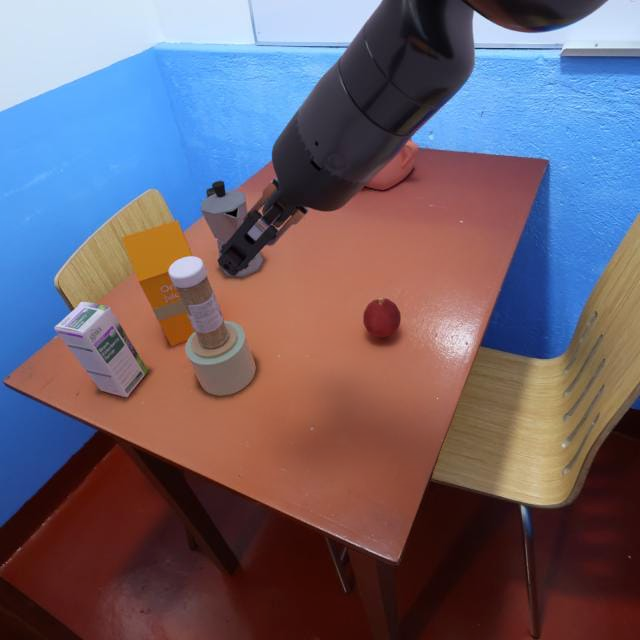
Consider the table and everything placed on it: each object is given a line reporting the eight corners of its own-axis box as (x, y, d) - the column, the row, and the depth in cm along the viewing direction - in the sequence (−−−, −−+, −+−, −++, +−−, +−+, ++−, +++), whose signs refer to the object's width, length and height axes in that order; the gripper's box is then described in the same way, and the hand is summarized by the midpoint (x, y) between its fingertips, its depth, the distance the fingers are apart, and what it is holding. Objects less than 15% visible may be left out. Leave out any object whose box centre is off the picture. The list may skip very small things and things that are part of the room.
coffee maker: (275, 270, 92) (254, 187, 80) (234, 289, 90) (207, 205, 78) (245, 238, 102) (222, 160, 90) (208, 254, 100) (179, 175, 88)
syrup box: (127, 399, 73) (83, 333, 63) (98, 391, 75) (51, 326, 65) (149, 371, 77) (110, 305, 67) (121, 364, 79) (80, 299, 69)
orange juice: (165, 319, 86) (119, 225, 72) (211, 303, 88) (175, 208, 74) (171, 347, 80) (122, 251, 67) (220, 329, 82) (183, 231, 68)
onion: (372, 319, 79) (370, 281, 73) (405, 326, 76) (405, 288, 71) (359, 342, 75) (355, 305, 70) (393, 351, 73) (392, 313, 68)
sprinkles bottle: (200, 331, 70) (168, 258, 61) (230, 325, 71) (203, 251, 61) (199, 353, 67) (165, 279, 58) (230, 346, 67) (202, 272, 58)
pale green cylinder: (228, 404, 70) (213, 370, 64) (188, 381, 74) (171, 347, 69) (267, 364, 74) (256, 329, 69) (227, 344, 79) (214, 310, 74)
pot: (343, 164, 123) (338, 116, 114) (410, 154, 122) (409, 105, 113) (349, 199, 109) (343, 147, 101) (424, 188, 108) (425, 135, 100)
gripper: (345, 67, 39) (258, 182, 51) (255, 139, 30) (177, 257, 42) (407, 135, 40) (308, 230, 53) (339, 222, 31) (240, 313, 44)
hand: (250, 242), depth 47 cm, fingers open, 8 cm apart
